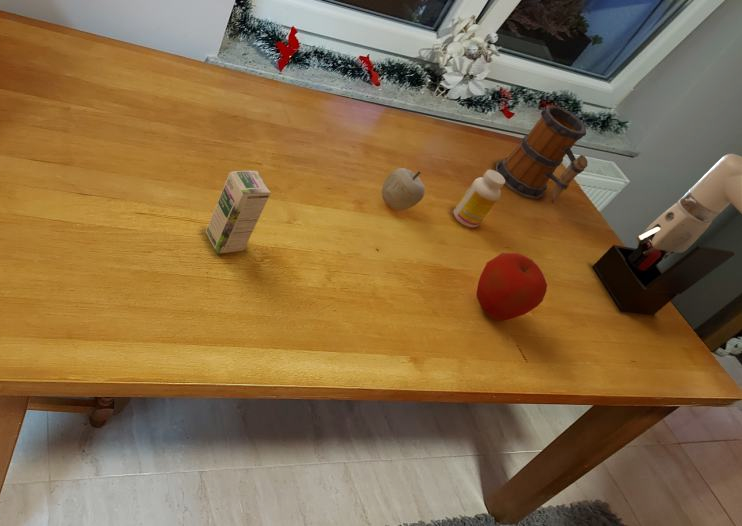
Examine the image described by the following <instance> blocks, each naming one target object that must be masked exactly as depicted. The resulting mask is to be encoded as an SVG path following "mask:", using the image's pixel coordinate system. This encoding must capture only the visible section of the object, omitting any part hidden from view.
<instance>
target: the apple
mask: <svg viewBox="0 0 742 526" xmlns="http://www.w3.org/2000/svg"><path fill="white" fill-rule="evenodd" d="M547 289H548V283H547V280H546V277H545V276H544V273H543V271H542V270H541V268H540V267H539V265H538V264H537V263H536V262H535V261H534V260H533V259H531V258H530V257H527V256H526V255H523V254H520V253H518V252H517V253H515V252H501V253H499V254H498V255H496V256H495V257H493V258H492V259H490V260H488V261H487V262H486V264H485V266H484V268H483V270H482V271H481V274H480V275H479V279H478V283H477V290H476V299H477V301H478V304H479V306H480V308H481V310H482V311H483V312H484V313H485V314H486V315H487V316H489V317H490V318H493V319H495V320H499V321H503V322H505V321H510V320H513V319H517V318H518V317H522V316H524V315H526V314H528V313H530V312H531V311H533V310H534V309H536V308H537V307H539V306H540V304H542V302H543V301H544V299H545V296H546V293H547Z"/></svg>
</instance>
